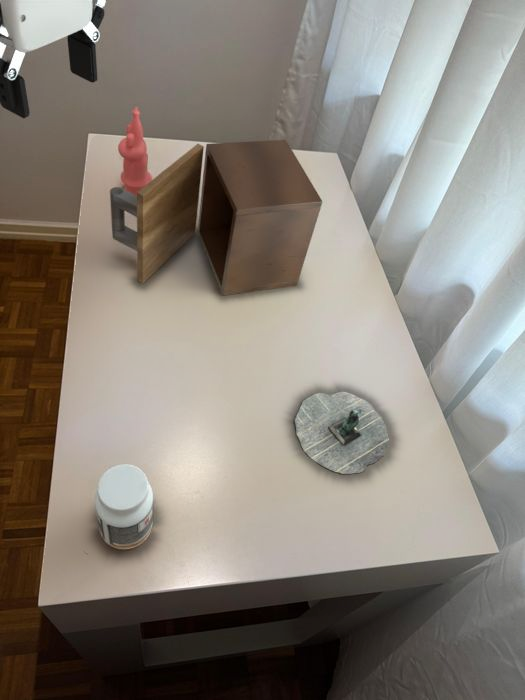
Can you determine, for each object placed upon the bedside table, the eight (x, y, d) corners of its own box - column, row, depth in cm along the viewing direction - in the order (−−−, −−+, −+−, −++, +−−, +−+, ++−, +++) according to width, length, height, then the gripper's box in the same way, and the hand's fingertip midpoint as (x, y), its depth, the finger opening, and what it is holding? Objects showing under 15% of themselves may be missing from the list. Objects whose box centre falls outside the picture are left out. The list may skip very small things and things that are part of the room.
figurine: (120, 182, 96) (117, 98, 84) (151, 185, 97) (153, 101, 85) (119, 202, 93) (116, 117, 81) (151, 204, 94) (152, 120, 82)
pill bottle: (162, 513, 63) (165, 474, 55) (134, 560, 60) (133, 526, 52) (117, 490, 64) (114, 448, 56) (87, 535, 60) (79, 498, 53)
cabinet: (222, 295, 84) (236, 209, 72) (197, 232, 92) (206, 143, 79) (297, 285, 88) (322, 201, 76) (267, 224, 96) (285, 139, 83)
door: (103, 262, 84) (97, 172, 72) (159, 214, 92) (162, 126, 80) (142, 283, 83) (143, 195, 71) (195, 233, 91) (203, 146, 79)
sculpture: (395, 414, 77) (405, 423, 69) (365, 475, 77) (372, 491, 69) (314, 375, 78) (315, 379, 70) (285, 435, 78) (282, 446, 70)
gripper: (65, -141, 51) (81, 52, 65) (-106, -111, 41) (-45, 111, 54) (132, -113, 50) (134, 78, 63) (-27, -75, 40) (15, 144, 53)
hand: (51, 93), depth 59 cm, fingers open, 9 cm apart
